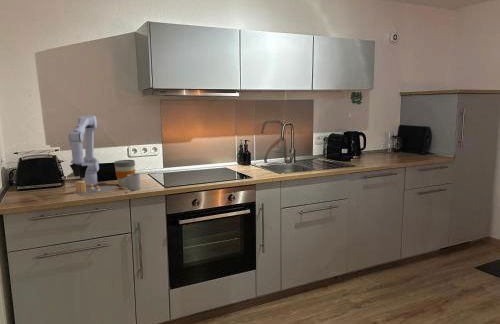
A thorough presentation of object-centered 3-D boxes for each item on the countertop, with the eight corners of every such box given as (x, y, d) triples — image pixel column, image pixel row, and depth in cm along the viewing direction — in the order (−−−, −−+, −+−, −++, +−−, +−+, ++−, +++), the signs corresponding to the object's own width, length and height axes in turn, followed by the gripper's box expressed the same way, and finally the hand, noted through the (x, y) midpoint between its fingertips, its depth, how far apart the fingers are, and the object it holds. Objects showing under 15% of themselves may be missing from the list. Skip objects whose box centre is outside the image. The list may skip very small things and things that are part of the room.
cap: (74, 192, 209) (73, 181, 208) (83, 190, 213) (82, 180, 212) (78, 193, 206) (77, 182, 205) (87, 191, 209) (86, 181, 208)
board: (70, 194, 210) (69, 186, 209) (107, 187, 226) (106, 180, 225) (80, 198, 201) (80, 190, 200) (118, 190, 216) (118, 183, 216)
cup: (141, 190, 218) (140, 175, 217) (123, 191, 214) (122, 176, 213) (140, 187, 225) (139, 173, 223) (123, 189, 221) (121, 174, 220)
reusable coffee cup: (139, 184, 233) (138, 161, 231) (120, 187, 225) (118, 163, 223) (131, 181, 243) (130, 159, 240) (112, 184, 234) (110, 161, 232)
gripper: (64, 153, 208) (67, 176, 210) (75, 155, 198) (77, 179, 200) (77, 151, 213) (79, 174, 215) (88, 153, 203) (90, 177, 205)
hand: (79, 177), depth 208 cm, fingers open, 7 cm apart
